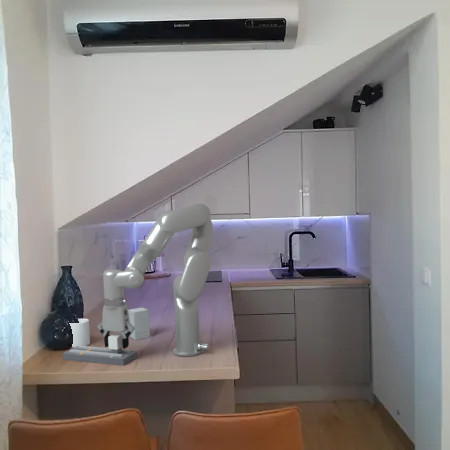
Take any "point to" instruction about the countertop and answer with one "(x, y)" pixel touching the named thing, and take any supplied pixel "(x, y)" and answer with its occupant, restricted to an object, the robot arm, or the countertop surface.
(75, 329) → the mug
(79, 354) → the fader console
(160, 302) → the countertop surface
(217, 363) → the countertop surface
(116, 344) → the cap
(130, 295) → the countertop surface
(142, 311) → the supplement box
